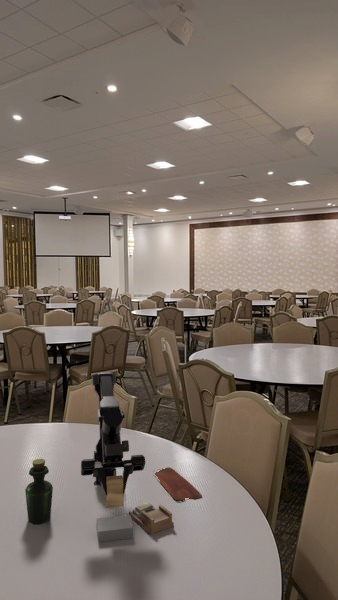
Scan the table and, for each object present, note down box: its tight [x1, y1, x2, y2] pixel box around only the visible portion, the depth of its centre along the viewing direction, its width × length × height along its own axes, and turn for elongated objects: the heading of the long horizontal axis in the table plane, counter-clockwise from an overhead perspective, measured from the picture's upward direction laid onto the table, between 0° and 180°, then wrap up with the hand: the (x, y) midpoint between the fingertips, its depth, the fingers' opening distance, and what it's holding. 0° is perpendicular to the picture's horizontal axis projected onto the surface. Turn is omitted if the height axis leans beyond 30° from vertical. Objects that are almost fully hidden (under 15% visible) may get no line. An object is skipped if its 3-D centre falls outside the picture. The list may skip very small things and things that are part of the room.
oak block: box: [105, 474, 124, 509], centre depth 130 cm, size 2×5×8 cm, turn 103°
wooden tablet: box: [155, 467, 203, 502], centre depth 162 cm, size 27×10×2 cm, turn 22°
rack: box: [128, 501, 175, 535], centre depth 137 cm, size 13×8×4 cm, turn 34°
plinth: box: [95, 514, 135, 543], centre depth 130 cm, size 7×10×3 cm
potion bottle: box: [24, 458, 54, 525], centre depth 137 cm, size 8×8×18 cm
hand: (115, 494), depth 128 cm, fingers closed on oak block, 5 cm apart
